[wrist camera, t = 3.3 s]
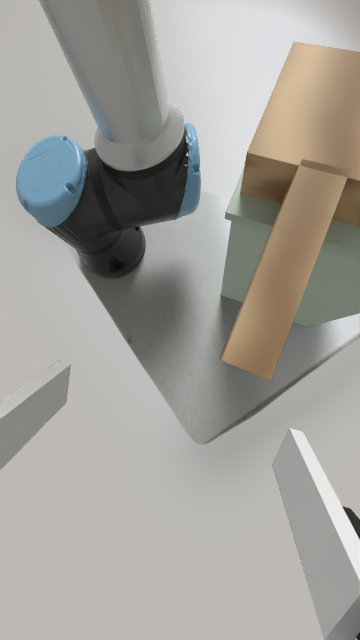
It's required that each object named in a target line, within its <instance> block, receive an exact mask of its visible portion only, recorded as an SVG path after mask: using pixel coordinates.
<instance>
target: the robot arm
mask: <svg viewBox="0 0 360 640" xmlns="http://www.w3.org/2000/svg"><path fill="white" fill-rule="evenodd" d="M39 2H40V4H41V6H42V8H43V10H44V12H45V15H46V16H47V19H48V21H49V23H50V25H51V27H52V29H53V32H54V34H55V36H56V38H57V40H58V42H59V44H60V47H61V49H62V51H63V53H64V55H65V57H66V59H67V62H68V64H69V66H70V68H71V70H72V72H73V74H74V76H75V79H76V81H77V83H78V85H79V87H80V89H81V91H82V94H83V96H84V98H85V100H86V102H87V104H88V106H89V108H90V110H91V113H92V115H93V117H94V119H95V121H96V123H97V125H98V128H97V131H96V134H95V142H94V144H95V148H93V149H89V150H85V151H83V149H82V148H81V147H80V146H79V144H77V143H76V142H75V141H74V140H72V139H70V138H67V137H66V136H62V135H55V136H49V137H47V138H44V139H42V140H41V141H39V142H38V143H36V144H35V145H34V146H33V147H32V148H31V149H30V150H29V151H28V153H27V154H26V155H25V157H24V159H23V161H22V162H21V164H20V166H19V169H18V172H17V178H16V190H17V195H18V198H19V200H20V202H21V204H22V206H23V207H24V208H25V209H26V211H27V212H29V213H30V214H31V215H32V216H33V217H34V218H35V219H36V220H37V221H38V222H39V223H40V224H41V225H43V226H44V227H46V228H47V229H49V230H50V231H51V232H53V233H54V234H56V235H57V236H58V237H60V238H61V239H62V240H64V241H65V242H67V243H68V244H69V245H71V246H72V247H74V248H75V249H76V251H77V253H78V255H79V256H80V258H81V260H82V262H83V263H84V265H85V266H86V267H87V268H88V269H89V270H91V271H92V272H94V273H95V274H97V275H99V276H102V277H106V278H116V277H120V276H123V275H125V274H127V273H129V272H130V271H132V270H133V269H134V268H135V267H136V266H137V265H138V263H139V262H140V260H141V259H142V256H143V254H144V250H145V237H144V234H143V231H142V229H141V228H140V226H145V225H149V224H154V223H159V222H164V221H169V220H176V219H178V218H179V217H182V216H186V215H189V214H191V213H193V212H194V211H195V210H196V209H197V207H198V204H199V200H200V187H201V185H200V184H201V179H200V169H199V167H200V156H199V147H198V139H197V134H196V131H195V127H194V126H193V124H191V123H186V122H184V119H183V115H182V113H181V111H180V109H179V108H178V107H177V106H176V105H175V104H174V103H173V102H171V101H169V100H168V99H167V94H166V88H165V82H164V77H163V72H162V65H161V60H160V54H159V49H158V43H157V37H156V32H155V26H154V20H153V15H152V9H151V3H150V0H39ZM70 366H71V364H68V363H65V362H61V361H58V362H56V363H55V364H54V365H52V366H50V367H49V368H48V369H46V370H45V371H43V372H42V373H40V374H39V375H38V376H36V377H35V378H33V379H32V380H30V381H29V382H27V383H26V384H24V385H23V386H22V387H20V388H19V389H17V390H16V391H14V392H13V393H11V394H10V395H9V396H7V397H6V398H4V399H3V400H1V401H0V470H1V469H2V468H3V467H4V466H5V465H6V464H7V462H8V461H9V460H11V458H13V456H14V455H15V454H16V453H17V452H18V451H19V450H20V449H21V448H22V447H23V446H24V445H25V444H26V443H27V442H28V441H29V440H30V439H31V438H32V437H33V436H34V435H35V434H36V433H37V432H38V431H39V430H40V429H41V428H42V427H43V426H44V425H45V424H46V423H47V422H48V421H49V420H50V419H51V418H52V417H53V416H54V415H55V414H56V413H57V411H58V410H60V409H61V407H63V406H64V404H65V403H66V401H67V392H68V383H69V375H70ZM273 469H274V472H275V475H276V479H277V482H278V485H279V489H280V492H281V496H282V499H283V502H284V506H285V509H286V513H287V516H288V519H289V523H290V526H291V529H292V533H293V536H294V540H295V543H296V546H297V550H298V553H299V556H300V560H301V563H302V567H303V570H304V573H305V577H306V580H307V583H308V587H309V590H310V594H311V597H312V600H313V603H314V607H315V610H316V614H317V617H318V621H319V624H320V627H321V631H322V634H323V638H324V640H355V639H356V638H357V639H358V640H360V519H359V518H358V517H357V516H356V515H355V513H354V512H353V511H352V510H351V509H349V508H346V507H343V506H342V505H341V503H340V501H339V499H338V498H337V496H336V494H335V492H334V490H333V488H332V486H331V484H330V483H329V480H328V479H327V477H326V475H325V473H324V471H323V469H322V467H321V465H320V463H319V461H318V460H317V458H316V456H315V454H314V452H313V450H312V448H311V446H310V444H309V442H308V440H307V439H306V437H305V435H304V433H303V432H302V431H298V430H295V429H292V428H289V430H288V432H287V434H286V436H285V438H284V440H283V443H282V445H281V447H280V449H279V451H278V454H277V456H276V458H275V460H274V462H273Z"/></svg>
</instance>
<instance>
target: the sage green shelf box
mask: <svg viewBox="0 0 360 640" xmlns="http://www.w3.org/2000/svg"><path fill="white" fill-rule="evenodd" d="M243 173H244V170H243V172H242V174H241V177H240V179H239V181H238V184H237V186H236V189H235V191H234V193H233V196H232V198H231V200H230V203H229V205H228V207H227V210H226V213H225V219H228V220H231V221H232V222H231V229H230V235H229V242H228V249H227V256H226V262H225V269H224V276H223V283H222V290H221V296H224V297H227V298H230V299H232V300H235V301H238V302H240V303H242V301H243V299H244V296H245V294H246V291H247V289H248V286H249V284H250V281H251V279H252V276H253V274H254V271H255V269H256V266H257V264H258V261H259V259H260V256H261V254H262V251H263V249H264V246H265V244H266V241H267V239H268V236H269V234H270V231H271V229H272V226H273V224H274V221H275V219H276V216H277V214H278V211H279V209H280V206H281V204H278V203H275V202H271V201H268V200H264V199H261V198H257V197H254V196H250V195H247V194H243V193H240V190H241V184H242V179H243ZM358 313H360V226H356V225H353V224H349V223H346V222H342V221H339V220H335V219H332V220H331V223H330V225H329V228H328V230H327V233H326V236H325V238H324V241H323V244H322V246H321V249H320V252H319V254H318V257H317V260H316V262H315V265H314V267H313V270H312V273H311V275H310V278H309V281H308V283H307V286H306V289H305V291H304V294H303V296H302V299H301V302H300V304H299V307H298V310H297V312H296V315H295V318H294V320H293V322H294V323H297V324H300V325H303V326H305V327H310V326H313V325H317V324H321V323H325V322H328V321H332V320H336V319H340V318H343V317H347V316H351V315H354V314H358Z"/></svg>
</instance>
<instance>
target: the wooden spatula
mask: <svg viewBox="0 0 360 640" xmlns="http://www.w3.org/2000/svg"><path fill="white" fill-rule="evenodd" d="M240 193H243V194H247V195H250V196H254V197H257V198H261V199H264V200H268V201H271V202H275V203H278V204H281V206H280V209H279V211H278V214H277V216H276V219H275V221H274V224H273V226H272V229H271V231H270V234H269V236H268V239H267V241H266V244H265V246H264V249H263V251H262V254H261V256H260V259H259V261H258V264H257V266H256V269H255V271H254V274H253V276H252V279H251V281H250V284H249V286H248V289H247V291H246V294H245V296H244V299H243V301H242V304H241V306H240V309H239V311H238V314H237V316H236V319H235V321H234V324H233V326H232V329H231V331H230V334H229V336H228V339H227V341H226V344H225V346H224V349H223V351H222V354H221V356H220V360H222V361H224V362H227V363H229V364H231V365H234V366H236V367H238V368H241V369H243V370H246V371H248V372H250V373H253V374H255V375H257V376H260V377H262V378H264V379H267V380H269V381H271V378H272V376H273V373H274V370H275V368H276V365H277V362H278V360H279V357H280V355H281V352H282V349H283V347H284V344H285V341H286V339H287V336H288V333H289V331H290V328H291V325H292V323H293V320H294V318H295V315H296V312H297V310H298V307H299V304H300V302H301V299H302V296H303V294H304V291H305V289H306V286H307V283H308V281H309V278H310V275H311V273H312V270H313V267H314V265H315V262H316V260H317V257H318V254H319V252H320V249H321V246H322V244H323V241H324V238H325V236H326V233H327V230H328V228H329V225H330V223H331V220H332V219H335V220H339V221H342V222H346V223H349V224H353V225H356V226H360V52H357V51H350V50H343V49H337V48H331V47H325V46H318V45H312V44H305V43H299V42H293V44H292V47H291V49H290V52H289V54H288V56H287V59H286V61H285V63H284V66H283V68H282V71H281V73H280V75H279V78H278V80H277V83H276V85H275V87H274V90H273V92H272V94H271V97H270V99H269V101H268V104H267V107H266V109H265V111H264V113H263V116H262V118H261V120H260V123H259V125H258V128H257V130H256V133H255V135H254V137H253V140H252V142H251V144H250V147H249V149H248V151H247V156H246V161H245V167H244V173H243V179H242V184H241V190H240Z"/></svg>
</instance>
